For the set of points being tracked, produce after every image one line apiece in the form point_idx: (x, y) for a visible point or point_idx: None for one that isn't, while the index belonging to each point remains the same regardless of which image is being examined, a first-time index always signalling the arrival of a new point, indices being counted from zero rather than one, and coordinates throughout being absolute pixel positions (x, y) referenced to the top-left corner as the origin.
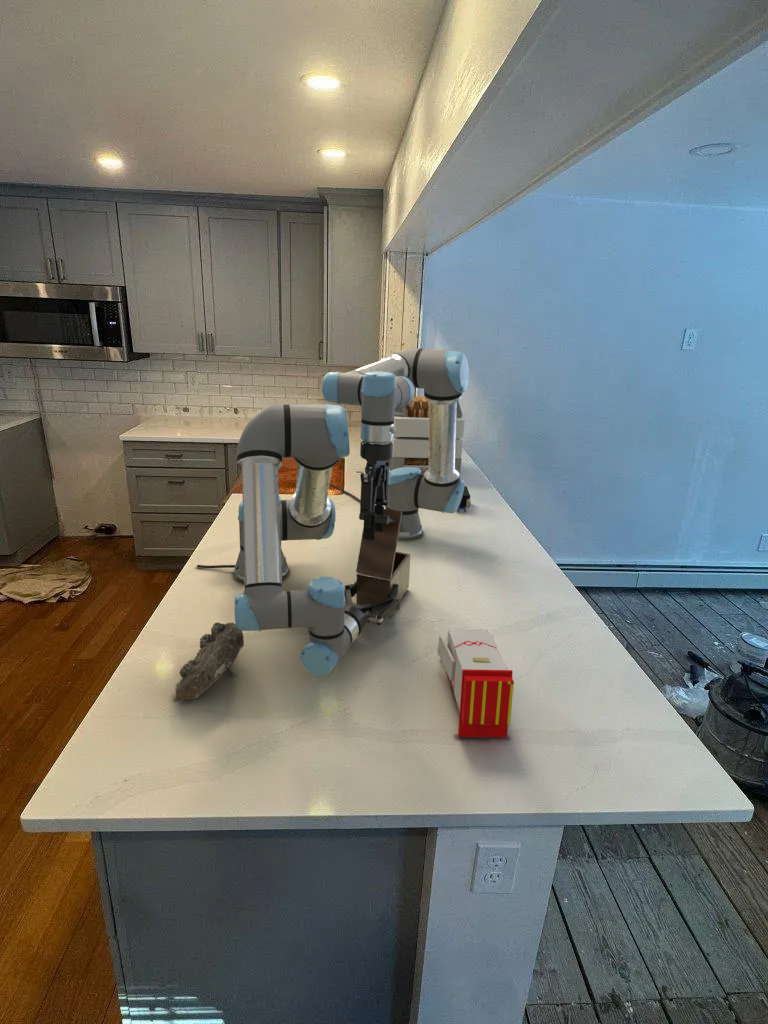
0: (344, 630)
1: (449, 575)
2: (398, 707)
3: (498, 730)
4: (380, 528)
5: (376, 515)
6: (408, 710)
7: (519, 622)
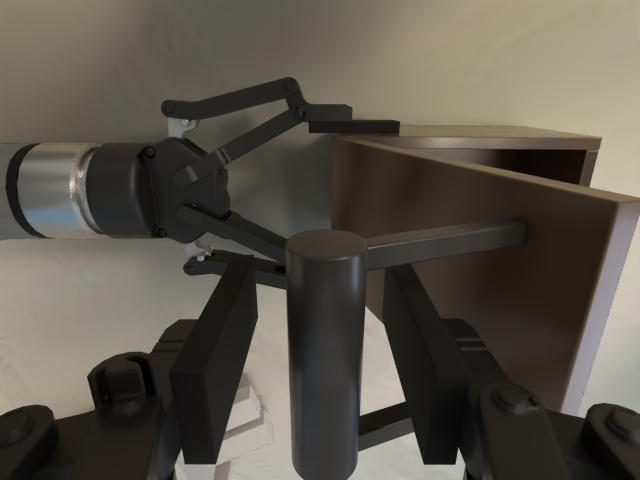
0: (16, 232)
1: (618, 298)
2: (45, 335)
3: None
4: (386, 321)
5: (307, 406)
6: (49, 351)
7: (419, 457)
